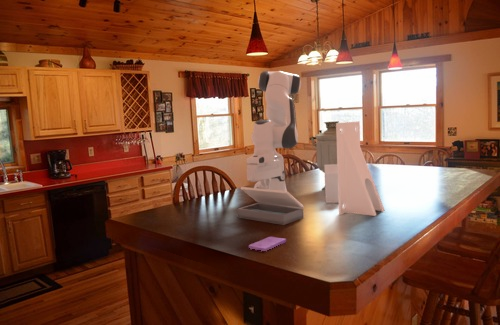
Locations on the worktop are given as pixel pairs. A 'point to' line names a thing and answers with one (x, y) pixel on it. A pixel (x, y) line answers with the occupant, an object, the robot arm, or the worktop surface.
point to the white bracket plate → (354, 174)
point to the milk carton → (331, 183)
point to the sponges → (267, 243)
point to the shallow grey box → (270, 213)
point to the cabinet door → (272, 197)
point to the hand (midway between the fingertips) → (266, 189)
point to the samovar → (326, 146)
